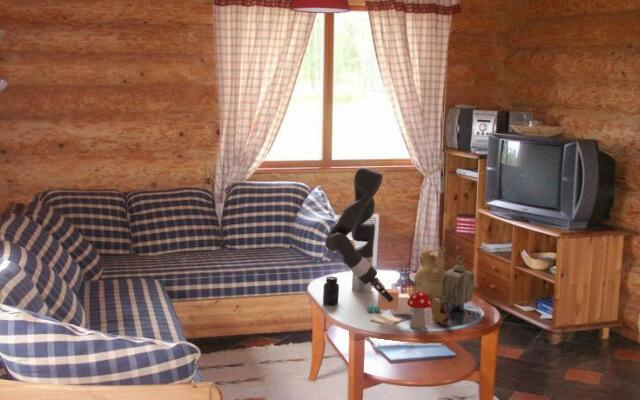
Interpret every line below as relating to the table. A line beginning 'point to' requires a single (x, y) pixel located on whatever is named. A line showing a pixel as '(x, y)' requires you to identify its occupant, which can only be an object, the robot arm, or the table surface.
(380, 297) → the peach rectangular brick
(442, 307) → the wooden carving
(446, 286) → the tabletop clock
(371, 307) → the teal marble
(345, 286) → the table surface
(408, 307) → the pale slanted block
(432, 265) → the tan upright figure
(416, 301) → the decorative mushroom
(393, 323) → the birch coaster
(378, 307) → the teal marble
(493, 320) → the table surface
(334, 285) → the supplement bottle
